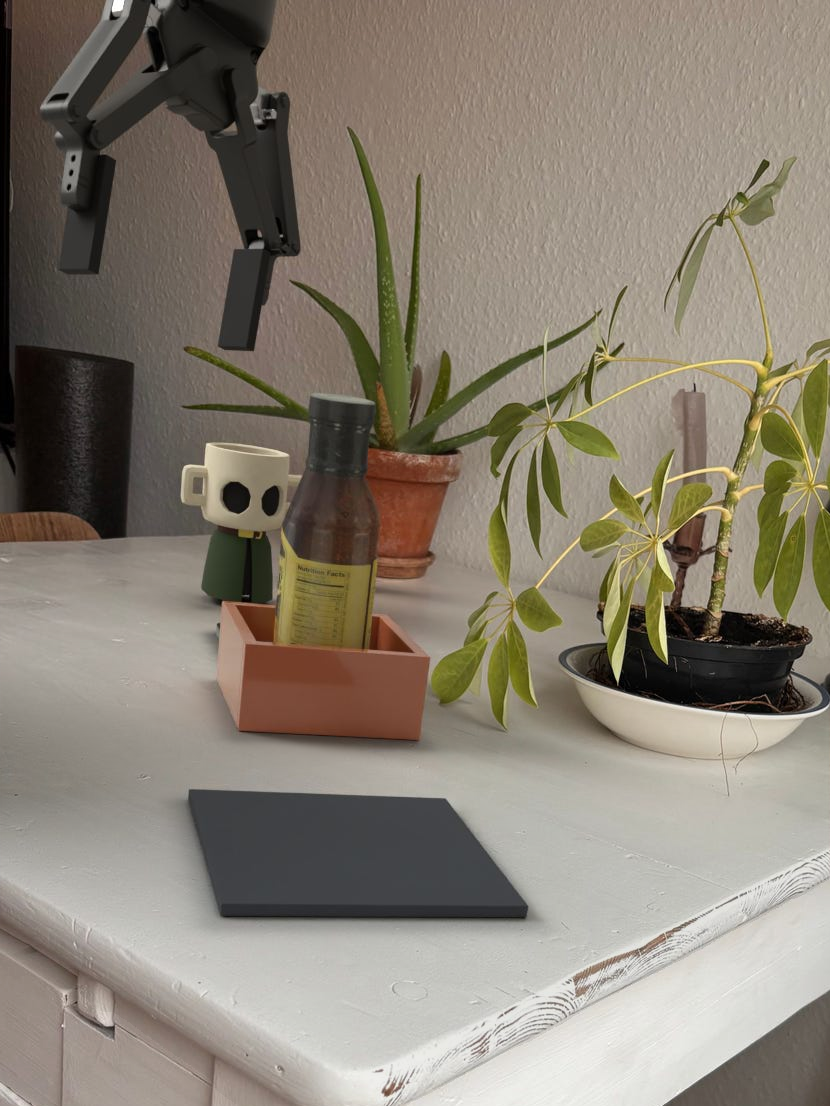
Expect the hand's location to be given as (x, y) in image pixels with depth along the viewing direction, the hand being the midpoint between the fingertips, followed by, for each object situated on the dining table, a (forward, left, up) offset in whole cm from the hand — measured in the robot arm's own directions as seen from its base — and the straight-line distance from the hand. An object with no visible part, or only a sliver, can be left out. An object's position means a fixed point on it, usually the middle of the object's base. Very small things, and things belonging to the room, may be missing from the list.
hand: (162, 314), depth 82 cm
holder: (+10, -9, -23) cm, 27 cm away
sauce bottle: (+10, -9, -23) cm, 27 cm away
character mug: (+9, +23, -23) cm, 34 cm away
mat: (+7, -34, -23) cm, 42 cm away
